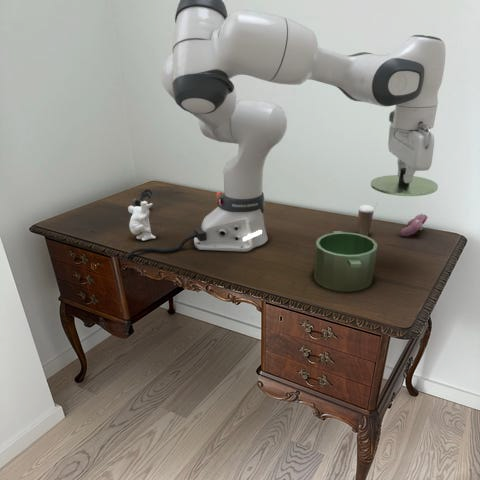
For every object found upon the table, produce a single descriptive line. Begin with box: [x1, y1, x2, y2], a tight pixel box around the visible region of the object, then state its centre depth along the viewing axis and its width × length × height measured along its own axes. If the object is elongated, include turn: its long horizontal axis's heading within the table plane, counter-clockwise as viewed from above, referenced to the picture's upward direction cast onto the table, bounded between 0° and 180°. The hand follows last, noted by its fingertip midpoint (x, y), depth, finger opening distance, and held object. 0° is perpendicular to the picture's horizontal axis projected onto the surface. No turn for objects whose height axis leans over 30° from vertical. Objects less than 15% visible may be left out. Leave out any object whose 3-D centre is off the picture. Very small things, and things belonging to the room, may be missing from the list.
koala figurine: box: [127, 201, 157, 242], centre depth 142 cm, size 8×7×12 cm
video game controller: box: [399, 213, 429, 237], centre depth 142 cm, size 10×5×7 cm, turn 148°
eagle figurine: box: [131, 188, 153, 210], centre depth 167 cm, size 8×7×9 cm
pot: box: [313, 230, 379, 293], centre depth 117 cm, size 15×20×10 cm
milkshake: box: [357, 202, 378, 237], centre depth 140 cm, size 4×5×10 cm
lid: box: [370, 168, 439, 197], centre depth 113 cm, size 16×16×5 cm
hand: (404, 180), depth 113 cm, fingers closed on lid, 2 cm apart
